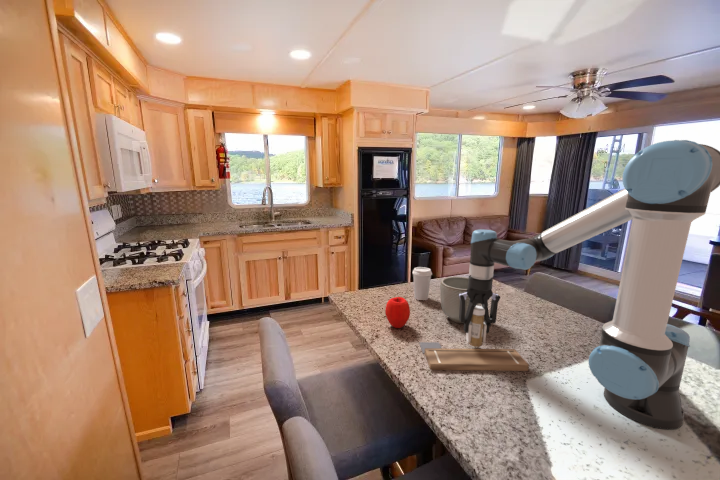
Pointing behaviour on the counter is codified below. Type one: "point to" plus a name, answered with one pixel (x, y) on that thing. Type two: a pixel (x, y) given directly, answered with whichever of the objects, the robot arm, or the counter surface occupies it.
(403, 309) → the apple
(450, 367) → the board
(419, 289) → the coffee cup
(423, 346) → the end pad
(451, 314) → the planter
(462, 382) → the counter surface
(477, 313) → the spice jar
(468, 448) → the counter surface
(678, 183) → the robot arm
